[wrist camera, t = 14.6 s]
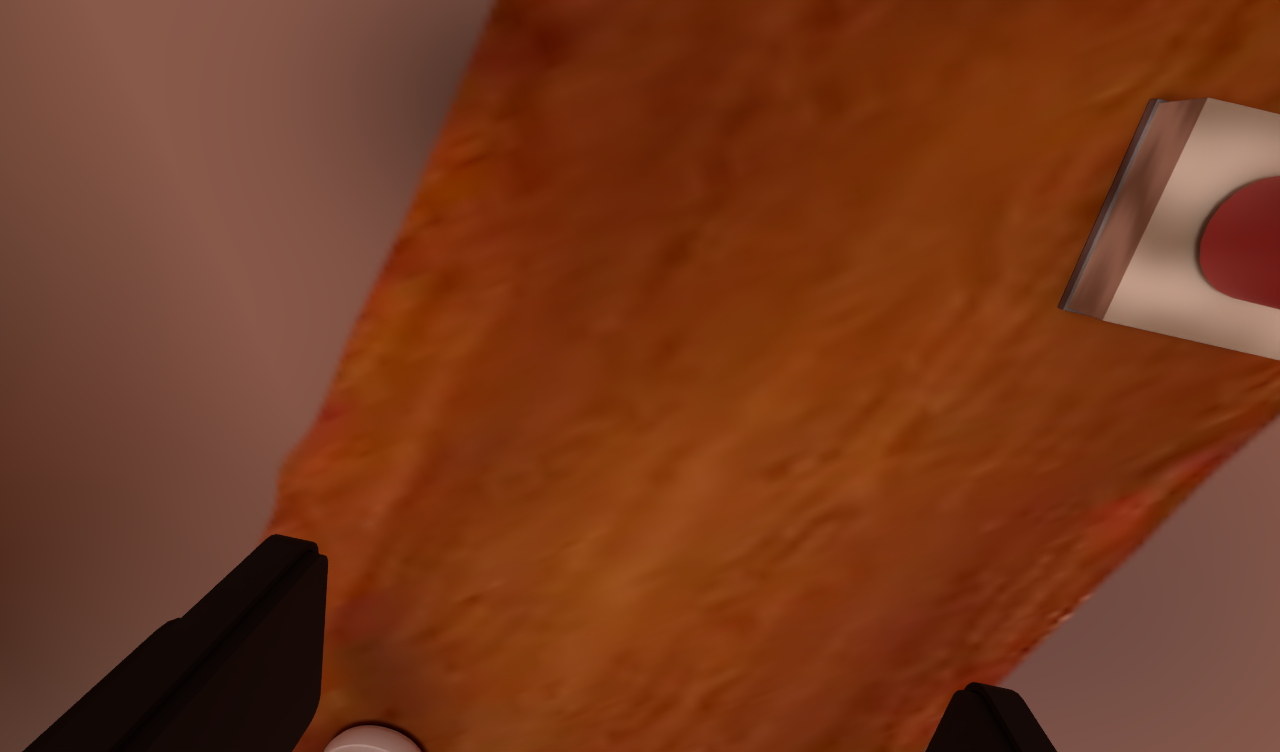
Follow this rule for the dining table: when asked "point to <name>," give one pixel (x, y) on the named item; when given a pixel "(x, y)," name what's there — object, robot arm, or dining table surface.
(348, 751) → the vodka
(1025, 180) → the dining table surface
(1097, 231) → the stand
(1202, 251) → the beer can
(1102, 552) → the dining table surface
